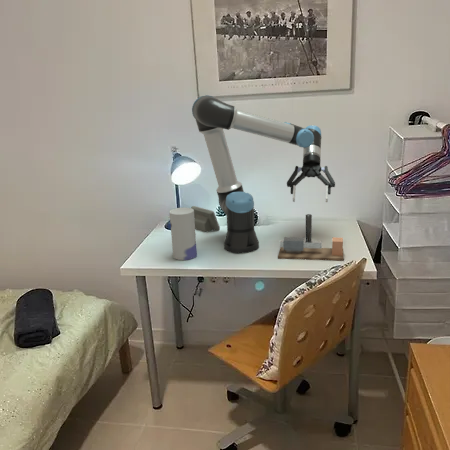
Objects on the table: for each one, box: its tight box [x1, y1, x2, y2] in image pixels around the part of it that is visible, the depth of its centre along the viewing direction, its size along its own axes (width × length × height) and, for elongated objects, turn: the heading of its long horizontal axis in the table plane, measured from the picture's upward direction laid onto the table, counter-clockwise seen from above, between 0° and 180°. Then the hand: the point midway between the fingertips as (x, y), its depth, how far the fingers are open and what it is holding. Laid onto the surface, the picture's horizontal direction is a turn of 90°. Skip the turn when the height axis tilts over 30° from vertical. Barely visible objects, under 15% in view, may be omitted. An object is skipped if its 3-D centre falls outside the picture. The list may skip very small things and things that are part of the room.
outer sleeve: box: [282, 236, 305, 254], centre depth 207 cm, size 8×4×6 cm, turn 78°
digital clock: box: [190, 205, 221, 233], centre depth 243 cm, size 16×9×11 cm, turn 31°
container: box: [169, 206, 198, 261], centre depth 209 cm, size 10×10×20 cm
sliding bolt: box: [279, 213, 323, 249], centre depth 204 cm, size 17×2×14 cm, turn 78°
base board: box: [277, 246, 345, 262], centre depth 206 cm, size 26×11×1 cm, turn 78°
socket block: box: [331, 236, 344, 256], centre depth 203 cm, size 4×5×6 cm
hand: (310, 200), depth 210 cm, fingers open, 13 cm apart
